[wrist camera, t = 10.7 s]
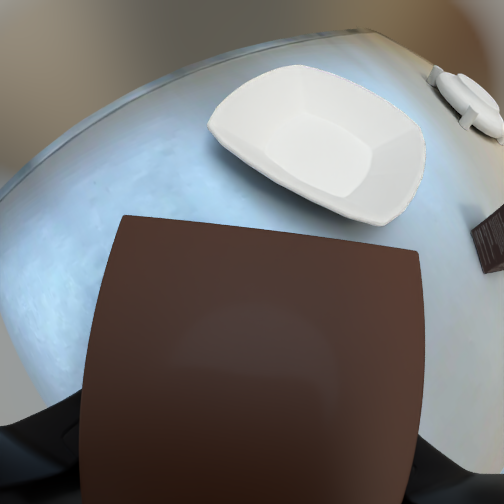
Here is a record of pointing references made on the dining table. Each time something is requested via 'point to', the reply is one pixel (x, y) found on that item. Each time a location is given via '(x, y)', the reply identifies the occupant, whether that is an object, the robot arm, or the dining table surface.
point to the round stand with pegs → (469, 102)
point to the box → (491, 241)
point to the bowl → (325, 141)
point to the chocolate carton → (251, 368)
